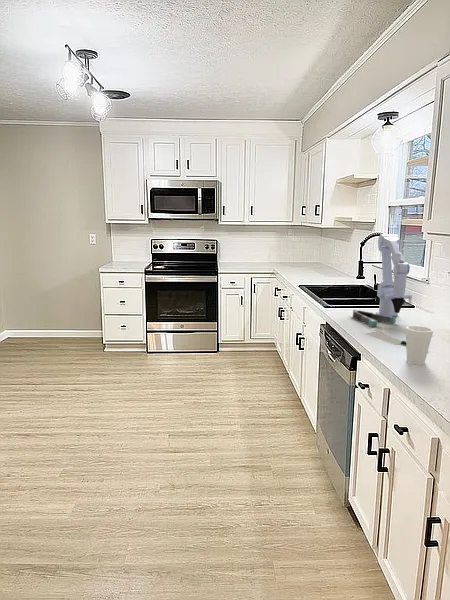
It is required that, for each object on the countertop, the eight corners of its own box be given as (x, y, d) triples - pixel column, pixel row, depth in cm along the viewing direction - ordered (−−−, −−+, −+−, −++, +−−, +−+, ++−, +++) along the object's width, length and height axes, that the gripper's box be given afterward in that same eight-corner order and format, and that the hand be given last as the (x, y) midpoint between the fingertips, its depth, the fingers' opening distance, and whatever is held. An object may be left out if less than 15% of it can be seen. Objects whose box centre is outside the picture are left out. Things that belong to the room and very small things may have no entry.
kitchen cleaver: (361, 332, 213) (378, 328, 217) (361, 336, 213) (378, 332, 217) (413, 353, 185) (431, 348, 189) (412, 357, 185) (431, 352, 189)
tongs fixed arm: (351, 318, 244) (352, 312, 243) (356, 318, 245) (357, 312, 244) (371, 327, 226) (372, 320, 225) (377, 326, 227) (377, 320, 226)
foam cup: (404, 364, 172) (408, 330, 169) (400, 357, 181) (403, 324, 178) (431, 367, 170) (436, 332, 168) (425, 359, 179) (429, 326, 177)
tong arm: (351, 316, 247) (352, 310, 246) (355, 315, 250) (356, 309, 249) (391, 324, 231) (392, 317, 231) (395, 323, 234) (396, 316, 234)
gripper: (391, 287, 229) (389, 314, 232) (416, 287, 233) (414, 313, 236) (383, 285, 236) (381, 311, 239) (408, 285, 240) (405, 310, 242)
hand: (396, 312), depth 238 cm, fingers closed
